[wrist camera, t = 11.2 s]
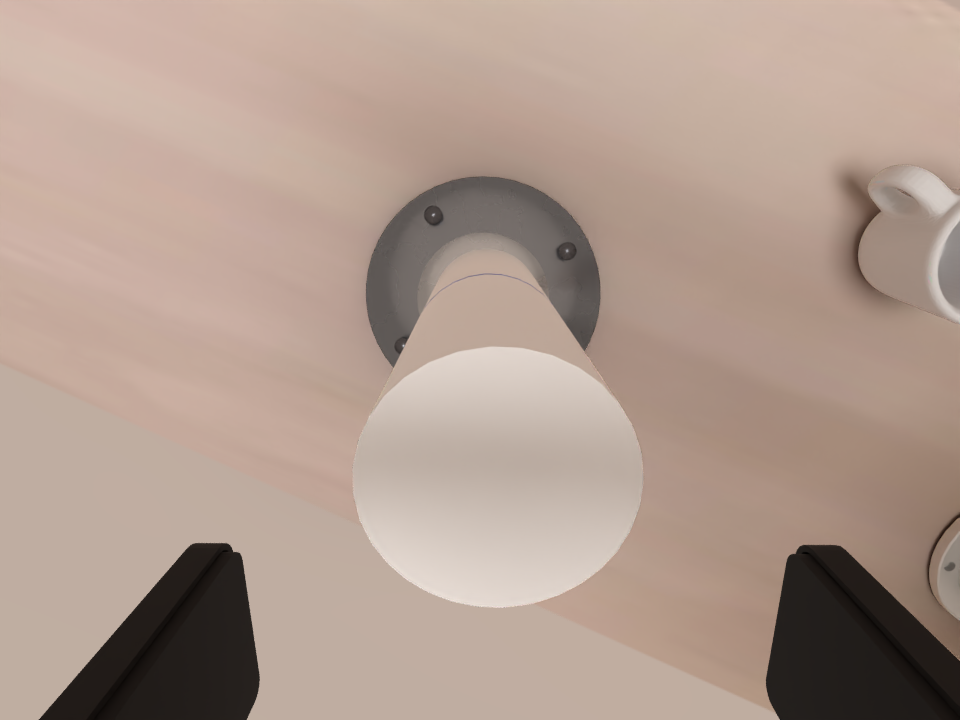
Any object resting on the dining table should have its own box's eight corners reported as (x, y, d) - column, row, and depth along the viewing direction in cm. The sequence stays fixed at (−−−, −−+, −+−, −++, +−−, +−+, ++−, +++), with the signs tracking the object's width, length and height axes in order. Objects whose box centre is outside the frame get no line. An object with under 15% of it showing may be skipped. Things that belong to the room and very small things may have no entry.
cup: (790, 219, 37) (871, 225, 29) (889, 127, 35) (1002, 107, 28) (883, 325, 39) (981, 357, 32) (980, 243, 38) (1109, 255, 30)
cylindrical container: (560, 297, 37) (704, 476, 13) (490, 371, 39) (506, 652, 15) (482, 225, 36) (486, 281, 12) (412, 305, 37) (293, 497, 14)
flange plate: (635, 336, 39) (639, 340, 38) (445, 439, 42) (444, 446, 40) (527, 129, 35) (529, 127, 34) (324, 255, 38) (319, 257, 37)
